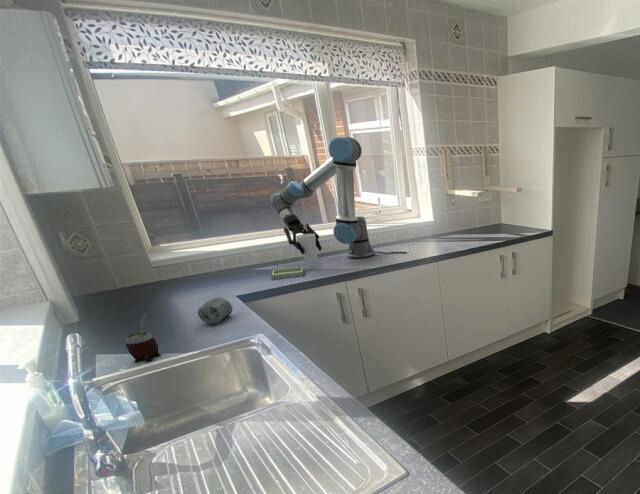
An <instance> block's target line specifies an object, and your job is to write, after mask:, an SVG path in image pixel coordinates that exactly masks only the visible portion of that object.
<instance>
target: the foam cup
mask: <svg viewBox="0 0 640 494" xmlns="http://www.w3.org/2000/svg"><path fill="white" fill-rule="evenodd" d="M315 239H316V238H315V234H302V233H301V234H296V242H299V244H300V245H301V247H302V248H303V250H304V254H302V256H303V258H304V260H305V261H315V260H317V259H318V251H317V246H316V240H315Z"/></svg>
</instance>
